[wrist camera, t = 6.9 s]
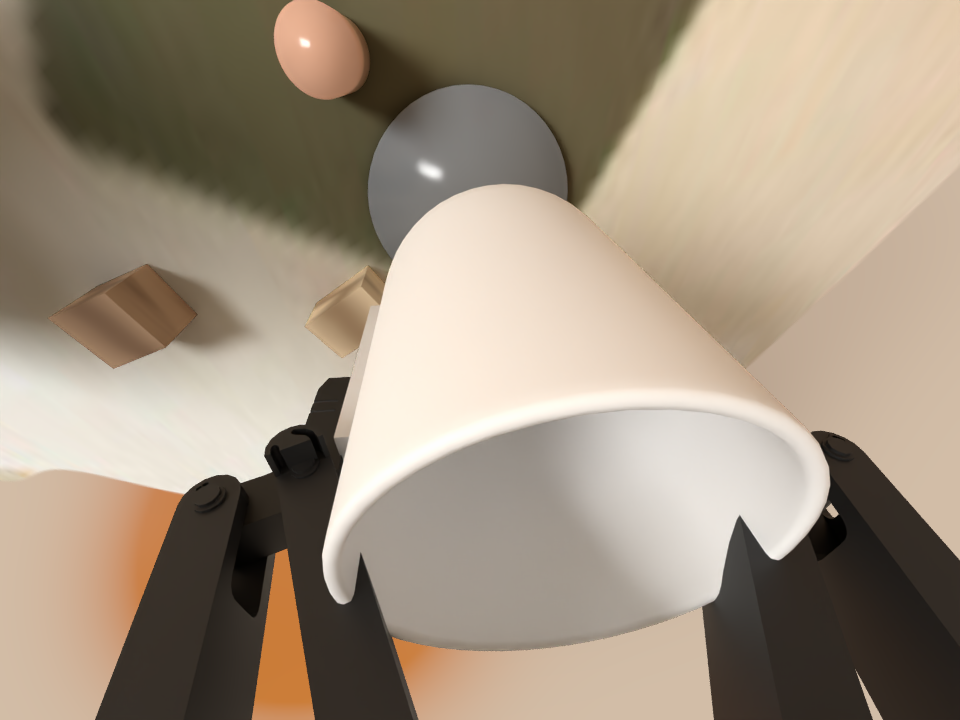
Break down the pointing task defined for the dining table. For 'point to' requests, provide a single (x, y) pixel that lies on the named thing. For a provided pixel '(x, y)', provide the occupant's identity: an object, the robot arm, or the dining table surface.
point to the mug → (551, 439)
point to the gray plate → (457, 155)
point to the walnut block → (126, 317)
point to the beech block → (346, 312)
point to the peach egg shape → (321, 49)
